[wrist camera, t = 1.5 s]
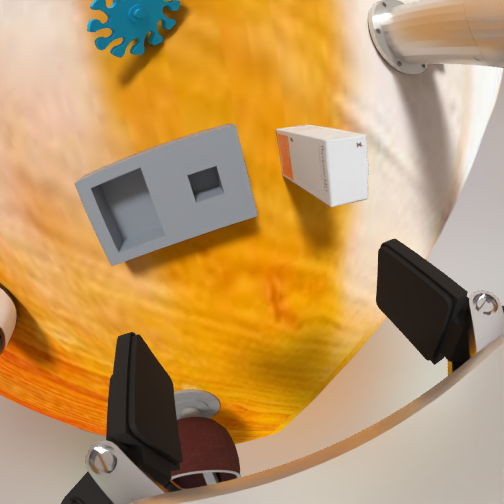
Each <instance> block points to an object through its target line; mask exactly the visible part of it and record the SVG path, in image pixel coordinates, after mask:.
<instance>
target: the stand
mask: <svg viewBox="0 0 504 504" xmlns="http://www.w3.org/2000/svg"><path fill="white" fill-rule="evenodd" d="M75 186H76V188H77V191H78V194H79V196H80V199H81V201H82V203H83V206H84V208H85V211H86V213H87V215H88V218H89V220H90V222H91V224H92V227H93V229H94V231H95V233H96V235H97V237H98V240H99V242H100V244H101V246H102V248H103V250H104V252H105V254H106V256H107V258H108V260H109V262H110V264H111V266H114V265H117V264H119V263H122V262H125V261H127V260H130V259H133V258H136V257H138V256H141V255H144V254H147V253H150V252H152V251H155V250H158V249H161V248H164V247H167V246H169V245H172V244H175V243H178V242H181V241H184V240H187V239H190V238H192V237H195V236H198V235H201V234H204V233H207V232H210V231H213V230H216V229H219V228H222V227H225V226H228V225H231V224H234V223H237V222H241V221H244V220H247V219H250V218H253V217H256V216H258V214H257V210H256V206H255V202H254V198H253V194H252V190H251V185H250V181H249V177H248V173H247V169H246V165H245V161H244V157H243V153H242V149H241V145H240V141H239V137H238V133H237V129H236V125H233V124H226V125H223V126H219V127H215V128H212V129H208V130H205V131H201V132H198V133H195V134H191V135H188V136H185V137H182V138H179V139H176V140H173V141H170V142H167V143H164V144H161V145H158V146H155V147H153V148H150V149H147V150H145V151H142V152H139V153H137V154H134V155H132V156H129V157H127V158H124V159H122V160H119V161H117V162H114V163H112V164H110V165H107V166H105V167H103V168H100V169H98V170H96V171H94V172H92V173H89V174H87V175H85V176H84V177H82V178H81V179H80V180H78V181H77V182H76V183H75Z"/></svg>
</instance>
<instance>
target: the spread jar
mask: <svg viewBox="0 0 504 504" xmlns="http://www.w3.org/2000/svg"><path fill="white" fill-rule="evenodd" d="M16 318H17V314H16V306H15V303H14V301H13V299H12V297H11V295H10V294H9V292H8V291H7V290H6V289H5V287H3V286H2V285H1V284H0V355H1V354H2V353H3V351H4V350H5V348H6V346H7V344H8V342H9V340H10V338H11V336H12V333H13V331H14V328H15V324H16Z"/></svg>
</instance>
